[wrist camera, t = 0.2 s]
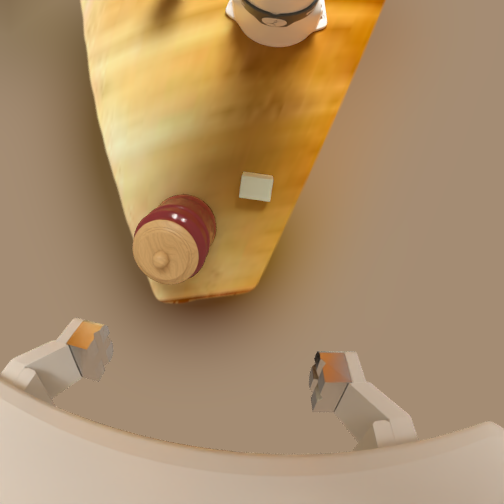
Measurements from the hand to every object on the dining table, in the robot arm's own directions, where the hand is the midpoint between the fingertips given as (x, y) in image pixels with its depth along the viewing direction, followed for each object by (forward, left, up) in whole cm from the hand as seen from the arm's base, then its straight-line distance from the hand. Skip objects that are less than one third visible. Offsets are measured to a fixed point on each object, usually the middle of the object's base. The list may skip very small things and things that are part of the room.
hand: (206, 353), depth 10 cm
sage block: (+3, +1, -47) cm, 47 cm away
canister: (+13, -12, -47) cm, 50 cm away
